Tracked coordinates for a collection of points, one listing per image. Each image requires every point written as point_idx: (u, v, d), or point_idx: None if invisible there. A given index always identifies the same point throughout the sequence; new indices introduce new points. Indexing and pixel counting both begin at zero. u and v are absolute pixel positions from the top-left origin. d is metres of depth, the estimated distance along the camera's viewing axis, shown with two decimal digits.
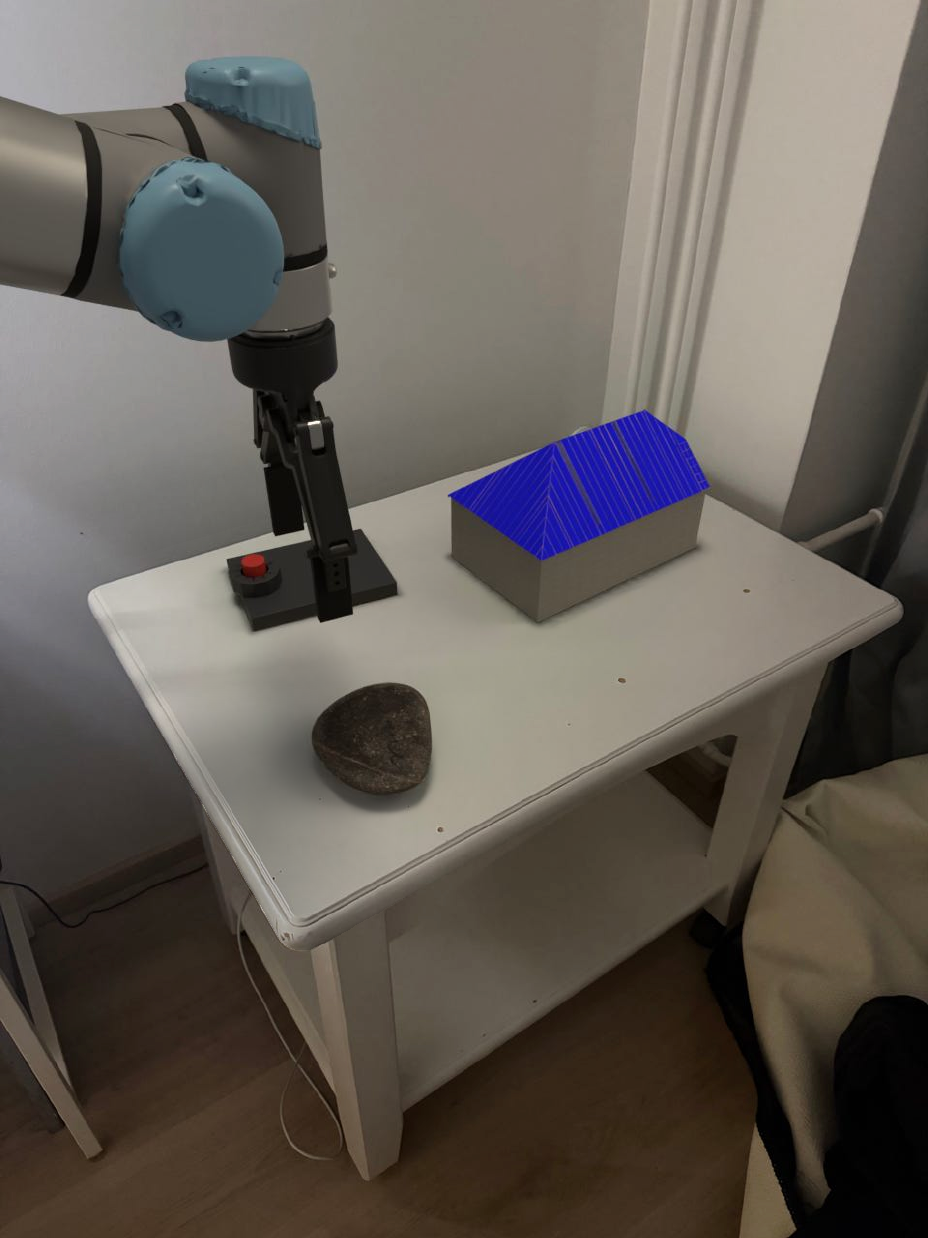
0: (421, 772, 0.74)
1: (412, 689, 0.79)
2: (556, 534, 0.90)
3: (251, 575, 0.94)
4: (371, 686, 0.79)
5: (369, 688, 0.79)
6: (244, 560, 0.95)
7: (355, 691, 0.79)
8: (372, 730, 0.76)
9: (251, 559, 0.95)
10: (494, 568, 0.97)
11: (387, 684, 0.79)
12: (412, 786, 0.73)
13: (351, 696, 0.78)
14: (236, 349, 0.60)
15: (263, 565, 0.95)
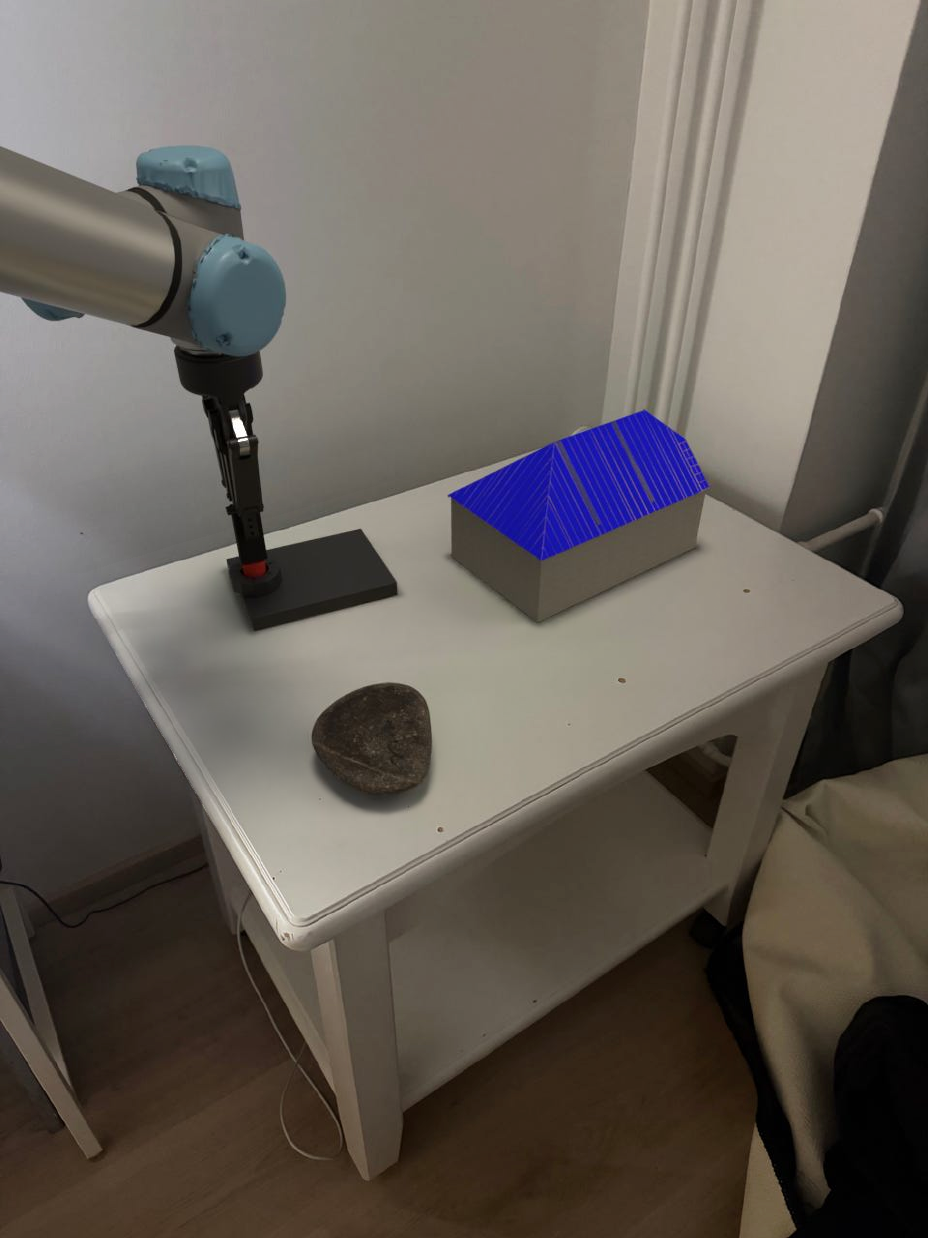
0: (421, 772, 0.74)
1: (412, 689, 0.79)
2: (556, 534, 0.90)
3: (251, 575, 0.94)
4: (371, 686, 0.79)
5: (369, 688, 0.79)
6: None
7: (355, 691, 0.79)
8: (372, 730, 0.76)
9: None
10: (494, 568, 0.97)
11: (387, 684, 0.79)
12: (412, 786, 0.73)
13: (351, 696, 0.78)
14: (181, 363, 0.79)
15: (263, 565, 0.95)
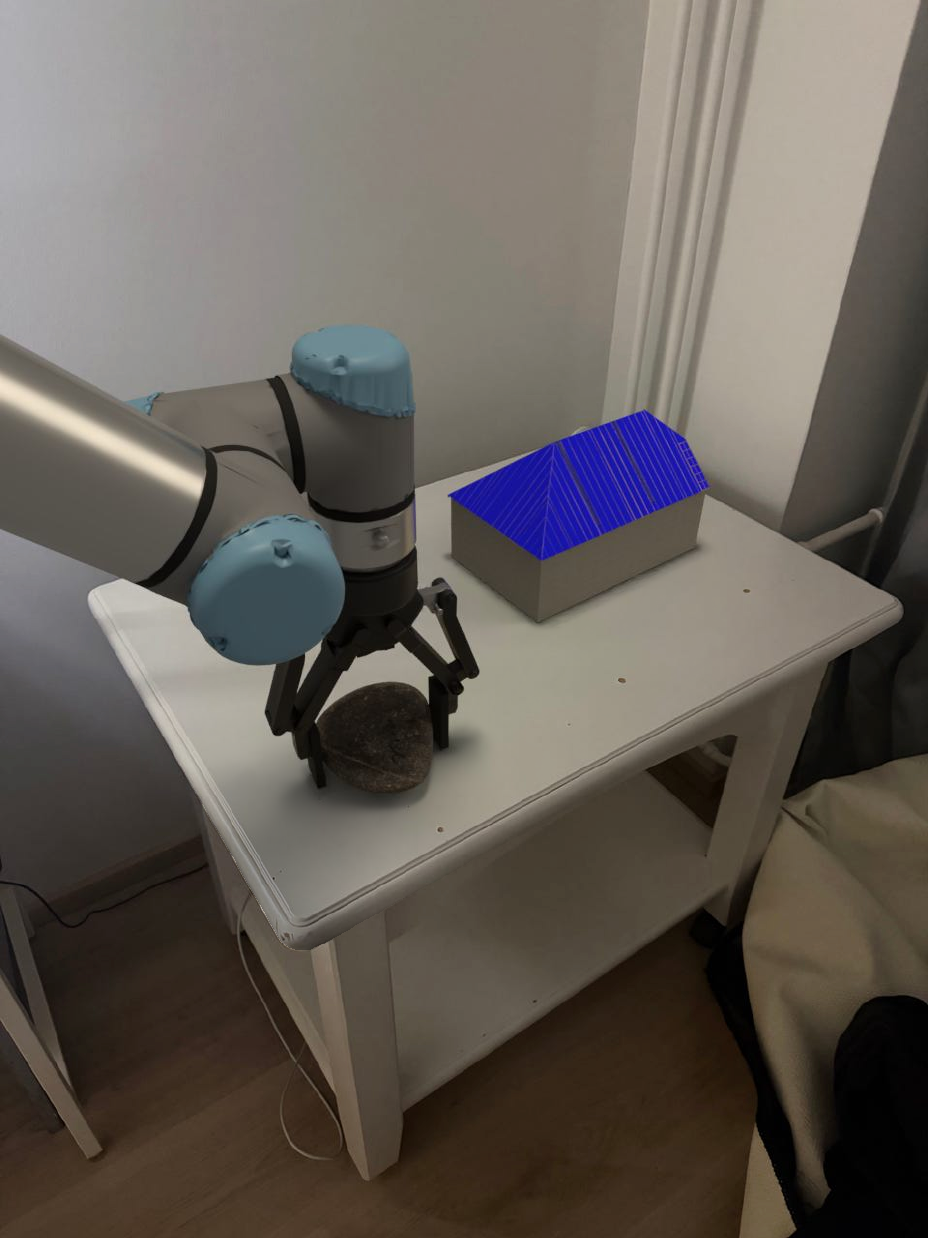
0: (423, 771, 0.74)
1: (413, 688, 0.79)
2: (556, 534, 0.90)
3: None
4: (372, 685, 0.79)
5: (370, 687, 0.79)
6: None
7: (356, 690, 0.79)
8: (373, 729, 0.76)
9: None
10: (494, 568, 0.97)
11: (388, 683, 0.79)
12: (414, 785, 0.73)
13: (352, 695, 0.78)
14: None
15: None
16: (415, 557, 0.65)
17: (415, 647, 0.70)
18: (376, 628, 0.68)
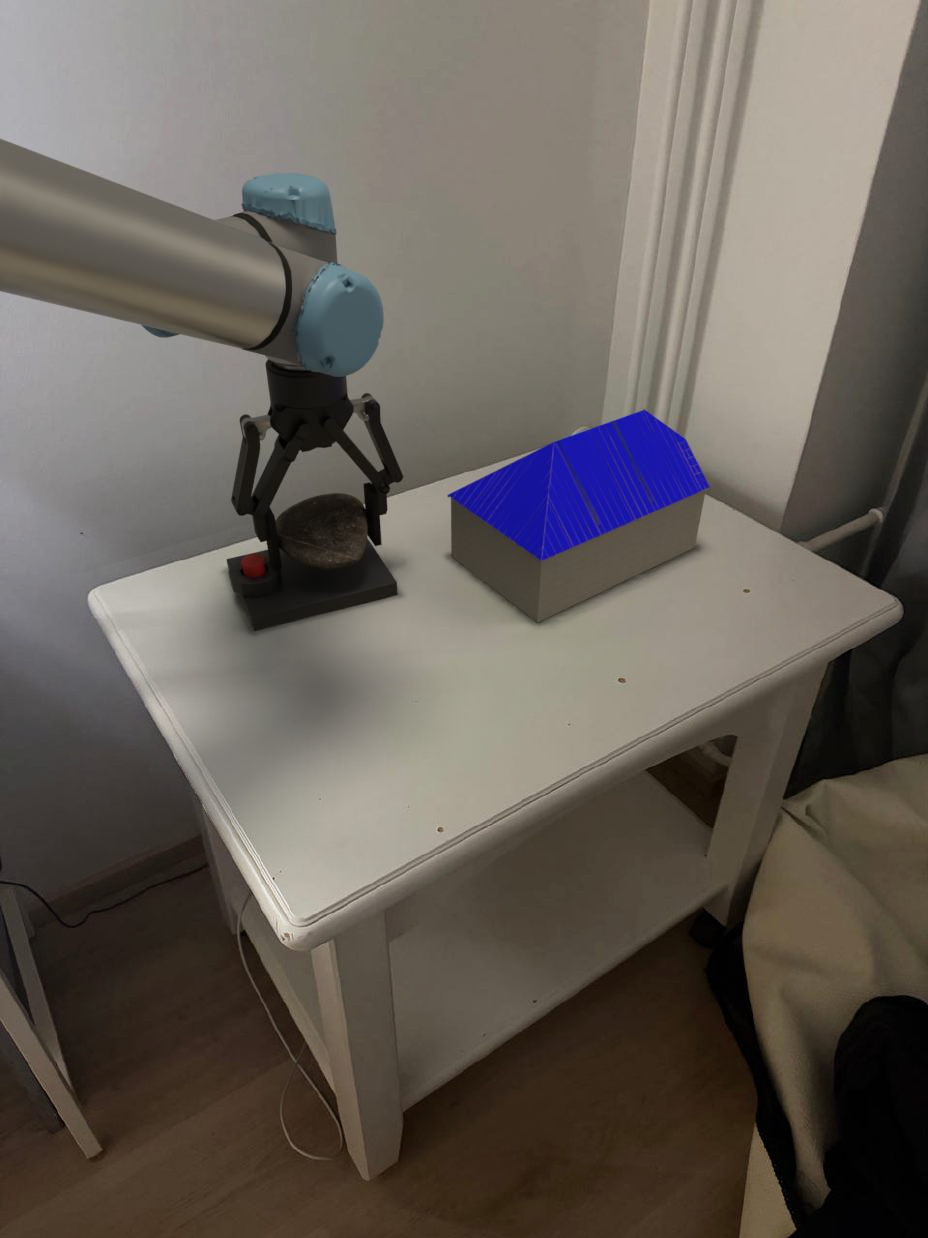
0: (357, 551, 0.94)
1: (353, 496, 0.98)
2: (556, 534, 0.90)
3: (251, 575, 0.94)
4: (320, 495, 0.99)
5: (319, 496, 0.99)
6: (244, 560, 0.95)
7: None
8: (319, 523, 0.95)
9: (251, 559, 0.95)
10: (494, 568, 0.97)
11: (333, 493, 0.99)
12: (350, 562, 0.93)
13: (304, 501, 0.98)
14: None
15: (263, 565, 0.95)
16: None
17: (348, 446, 0.90)
18: (316, 426, 0.88)
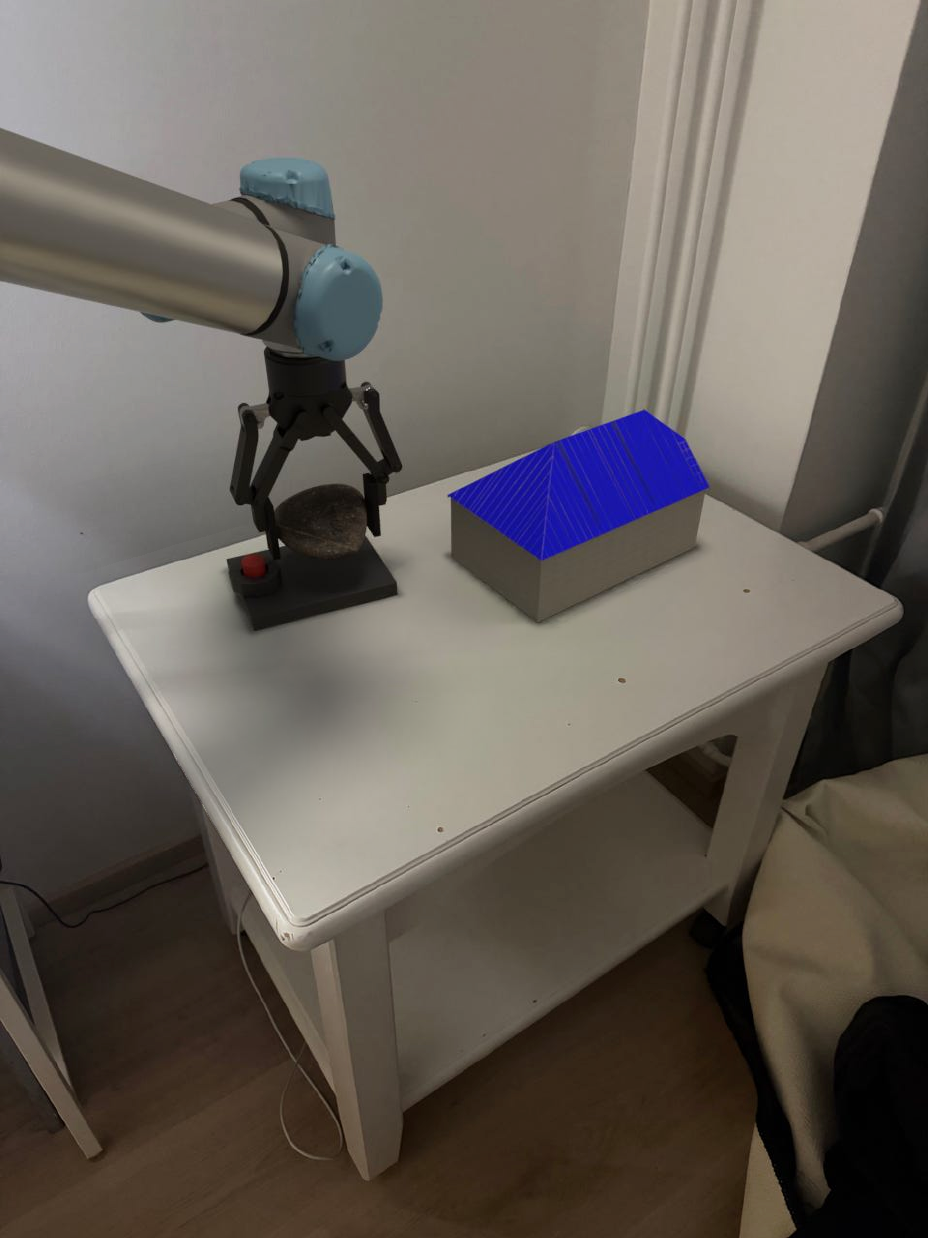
0: (356, 542, 0.93)
1: (352, 487, 0.98)
2: (556, 534, 0.90)
3: (251, 575, 0.94)
4: None
5: (318, 486, 0.98)
6: (244, 560, 0.95)
7: (306, 489, 0.98)
8: (318, 513, 0.95)
9: (251, 559, 0.95)
10: (494, 568, 0.97)
11: (332, 484, 0.98)
12: (349, 552, 0.92)
13: (302, 492, 0.97)
14: None
15: (263, 565, 0.95)
16: None
17: (347, 435, 0.89)
18: (315, 415, 0.87)
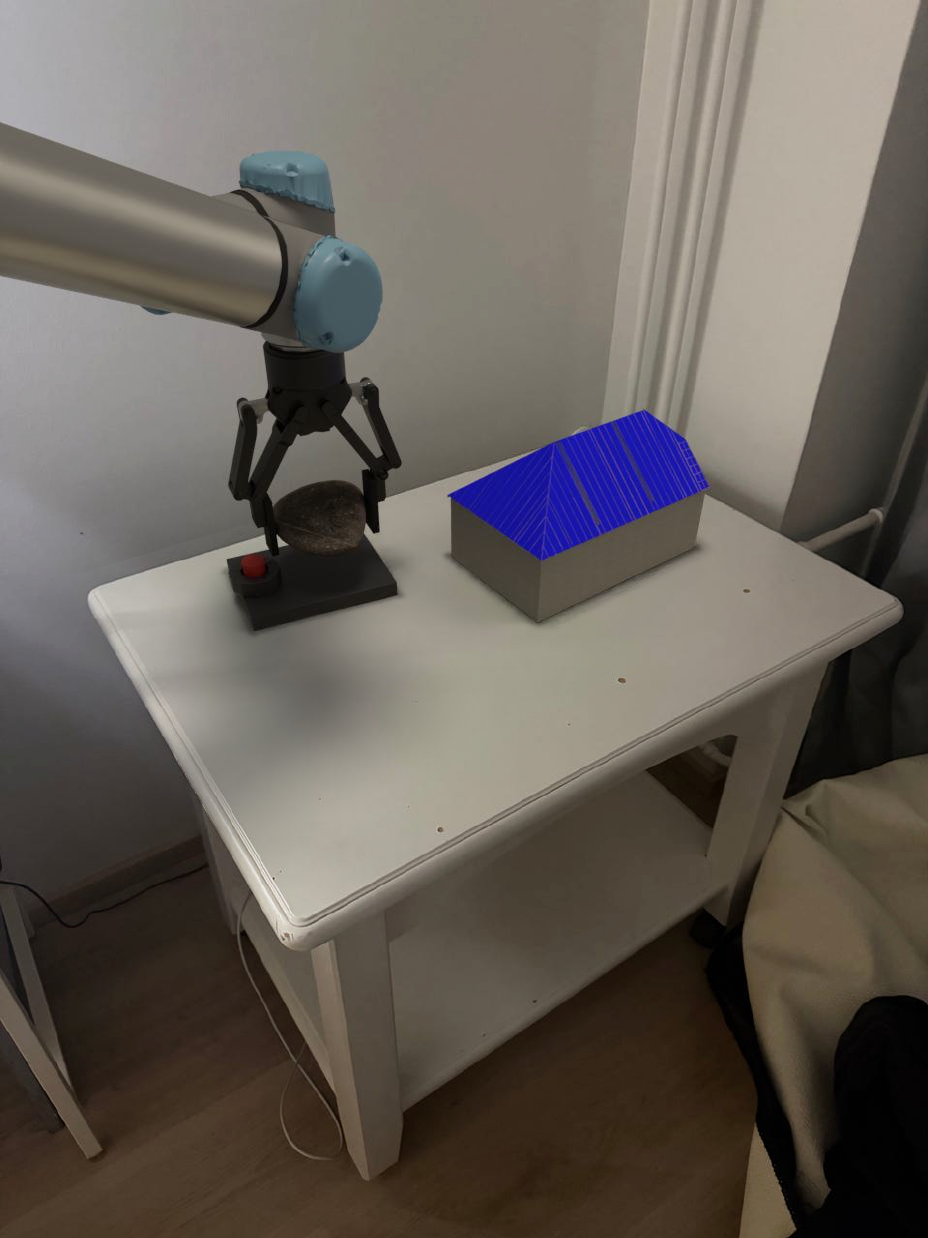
0: (355, 538, 0.92)
1: (351, 483, 0.97)
2: (556, 534, 0.90)
3: (251, 575, 0.94)
4: (318, 482, 0.98)
5: (316, 483, 0.97)
6: (244, 560, 0.95)
7: None
8: (317, 509, 0.94)
9: (251, 559, 0.95)
10: (494, 568, 0.97)
11: (331, 480, 0.98)
12: (348, 548, 0.92)
13: (301, 488, 0.97)
14: None
15: (263, 565, 0.95)
16: None
17: (346, 430, 0.89)
18: (314, 410, 0.87)
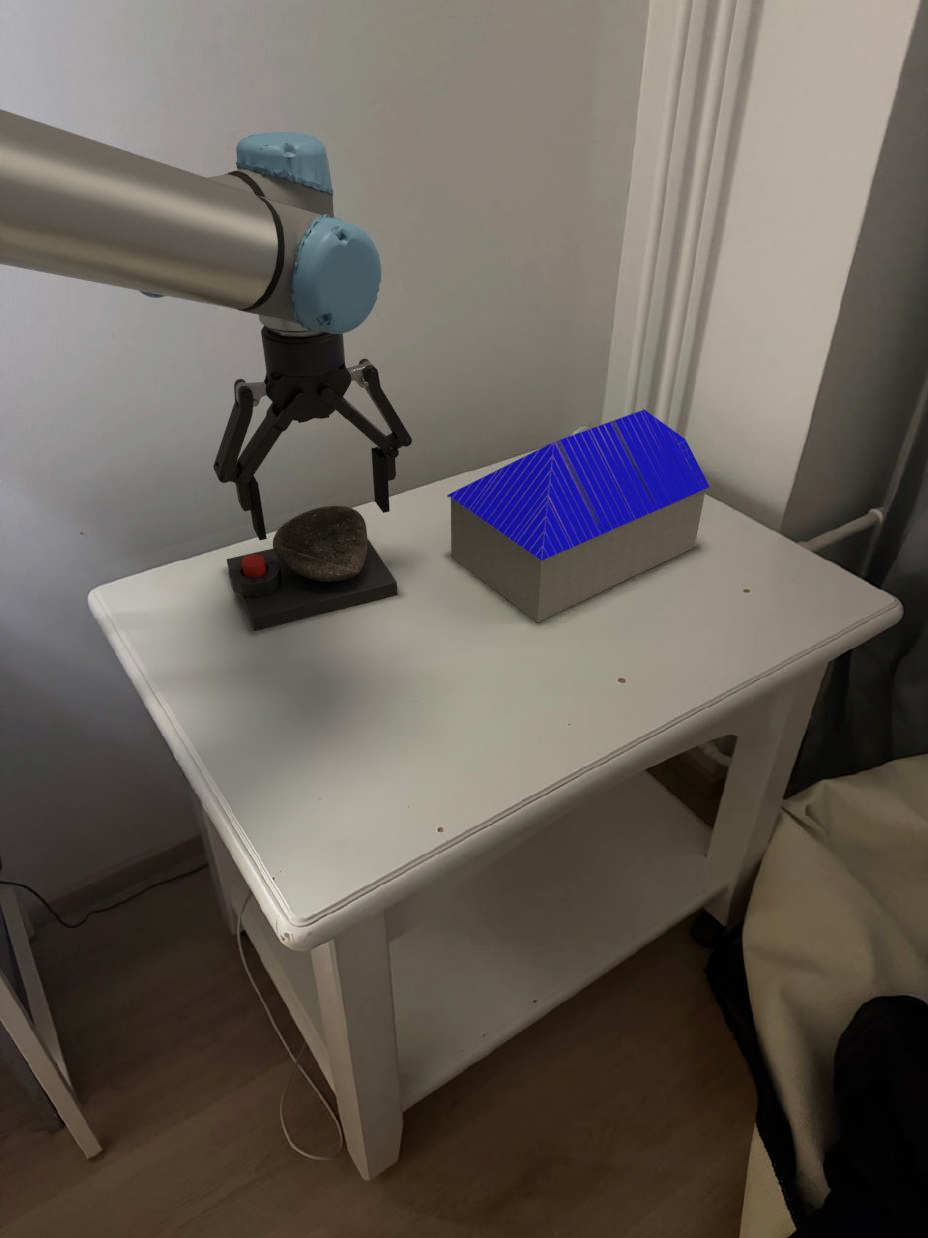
0: (358, 564, 0.95)
1: (352, 509, 1.00)
2: (556, 534, 0.90)
3: (251, 575, 0.94)
4: None
5: (319, 508, 1.00)
6: (244, 560, 0.95)
7: (307, 511, 1.00)
8: (320, 535, 0.97)
9: (251, 559, 0.95)
10: (494, 568, 0.97)
11: (333, 506, 1.00)
12: (351, 574, 0.94)
13: (304, 514, 0.99)
14: None
15: (263, 565, 0.95)
16: None
17: (349, 413, 0.88)
18: (313, 396, 0.86)
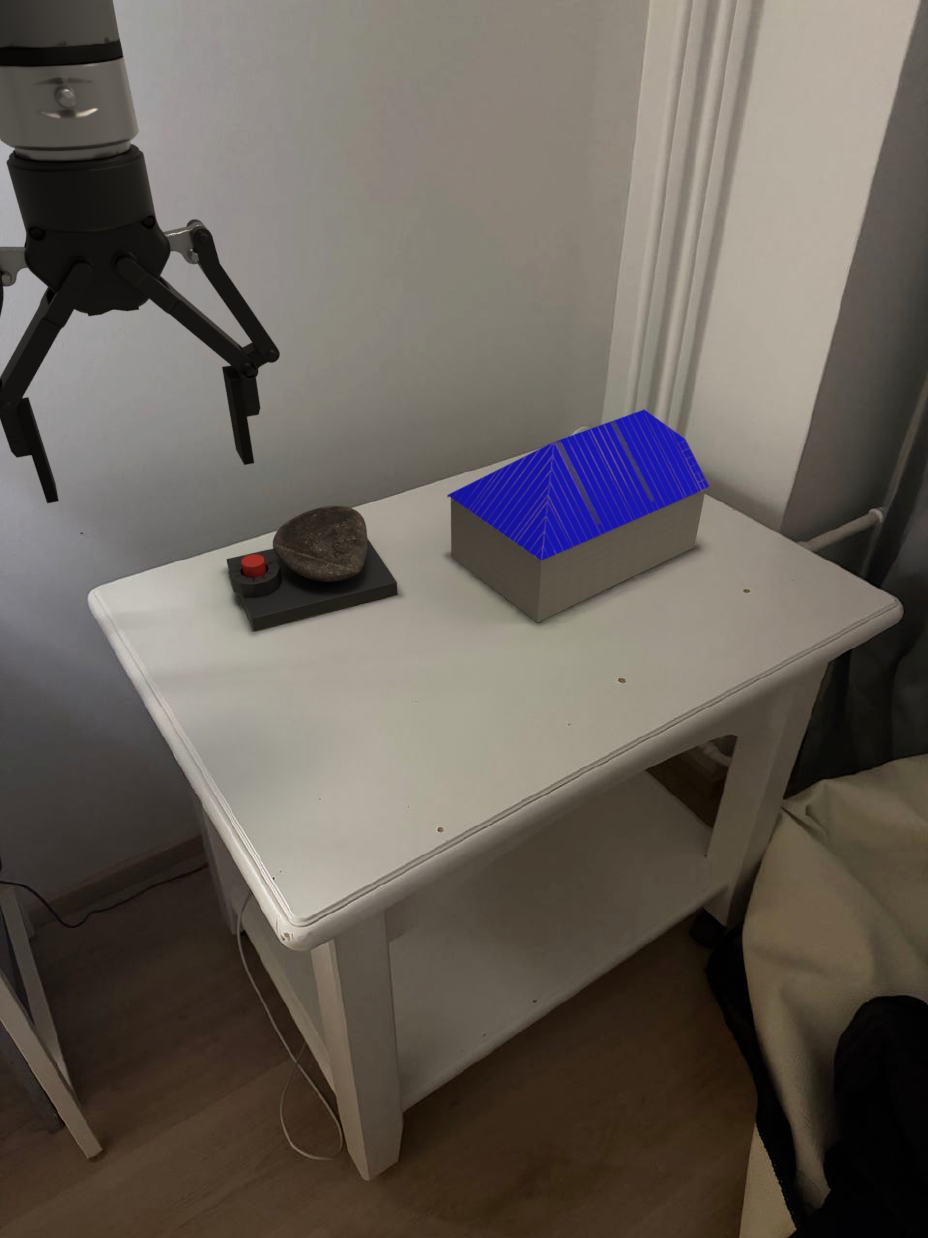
0: (358, 564, 0.95)
1: (352, 509, 1.00)
2: (556, 534, 0.90)
3: (251, 575, 0.94)
4: None
5: (319, 508, 1.00)
6: (244, 560, 0.95)
7: (307, 511, 1.00)
8: (320, 535, 0.97)
9: (251, 559, 0.95)
10: (494, 568, 0.97)
11: (333, 506, 1.00)
12: (351, 574, 0.94)
13: (304, 514, 0.99)
14: None
15: (263, 565, 0.95)
16: (137, 159, 0.51)
17: (169, 303, 0.57)
18: (107, 272, 0.55)
